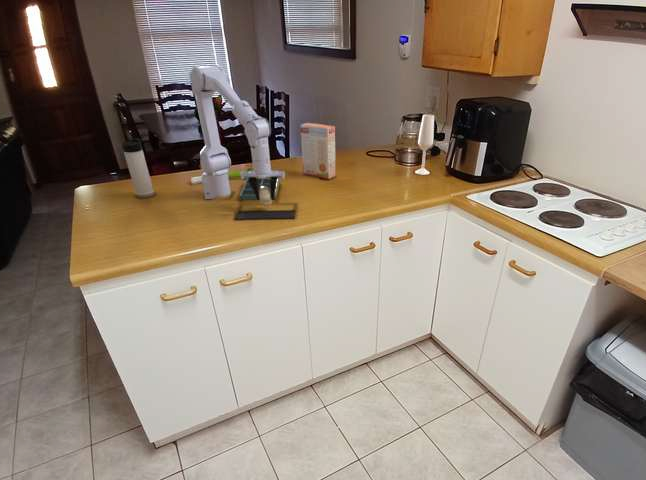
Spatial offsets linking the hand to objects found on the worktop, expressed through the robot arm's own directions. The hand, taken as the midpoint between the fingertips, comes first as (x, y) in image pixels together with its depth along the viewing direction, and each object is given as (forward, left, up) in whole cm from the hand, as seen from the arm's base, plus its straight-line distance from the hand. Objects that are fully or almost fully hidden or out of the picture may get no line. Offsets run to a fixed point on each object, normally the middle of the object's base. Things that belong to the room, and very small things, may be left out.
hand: (265, 198), depth 141 cm
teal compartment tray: (-4, +19, -5) cm, 20 cm away
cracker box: (+19, +41, -5) cm, 45 cm away
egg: (0, 0, -3) cm, 3 cm away
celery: (-19, +34, -5) cm, 39 cm away
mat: (0, 0, -5) cm, 5 cm away
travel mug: (-48, +19, -5) cm, 52 cm away
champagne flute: (+66, +44, -5) cm, 79 cm away
